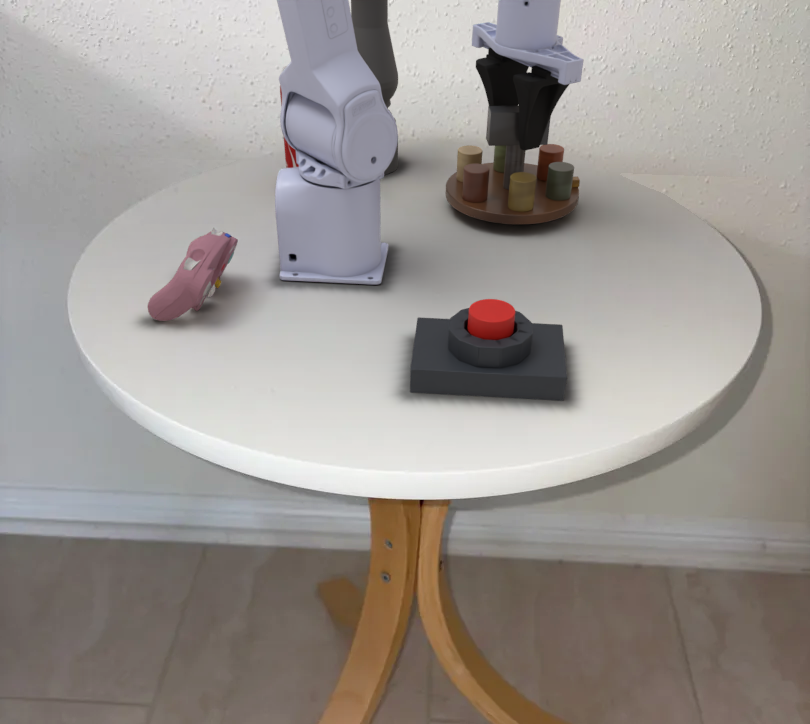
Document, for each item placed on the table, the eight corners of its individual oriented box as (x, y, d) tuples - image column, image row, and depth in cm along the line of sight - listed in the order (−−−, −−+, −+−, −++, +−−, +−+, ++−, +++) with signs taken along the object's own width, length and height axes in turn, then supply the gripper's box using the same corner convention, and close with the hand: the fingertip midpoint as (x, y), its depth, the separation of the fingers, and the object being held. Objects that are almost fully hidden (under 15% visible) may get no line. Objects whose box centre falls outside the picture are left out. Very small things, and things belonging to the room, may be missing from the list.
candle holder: (408, 162, 106) (412, -97, 89) (379, 180, 102) (376, -88, 85) (364, 151, 108) (359, -103, 91) (334, 168, 104) (323, -95, 87)
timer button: (466, 340, 70) (468, 320, 69) (468, 317, 73) (469, 297, 72) (513, 343, 70) (515, 322, 69) (513, 319, 73) (515, 299, 71)
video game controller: (189, 343, 79) (214, 281, 74) (141, 317, 78) (163, 252, 74) (228, 290, 86) (253, 229, 82) (184, 265, 85) (206, 203, 81)
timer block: (409, 393, 71) (410, 348, 69) (417, 340, 77) (417, 297, 74) (563, 401, 71) (570, 357, 68) (559, 347, 76) (565, 304, 74)
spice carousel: (453, 226, 91) (458, 135, 85) (438, 172, 101) (441, 87, 95) (591, 223, 92) (605, 132, 86) (563, 169, 102) (574, 85, 96)
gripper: (617, -1, 80) (593, 156, 89) (516, -33, 89) (504, 113, 98) (555, 9, 77) (537, 170, 87) (457, -25, 86) (451, 124, 96)
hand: (516, 141), depth 92 cm, fingers closed on spice carousel, 4 cm apart
